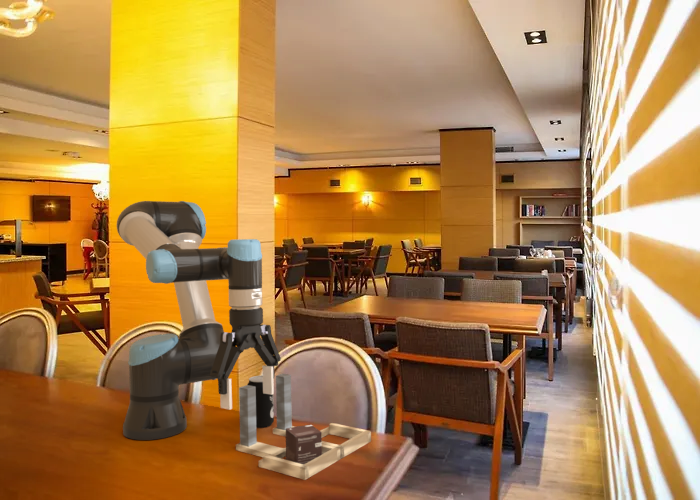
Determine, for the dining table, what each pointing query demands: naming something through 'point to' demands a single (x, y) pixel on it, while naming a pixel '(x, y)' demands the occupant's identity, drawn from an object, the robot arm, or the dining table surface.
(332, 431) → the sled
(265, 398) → the beverage can
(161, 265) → the robot arm
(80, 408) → the dining table surface
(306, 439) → the box
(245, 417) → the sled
